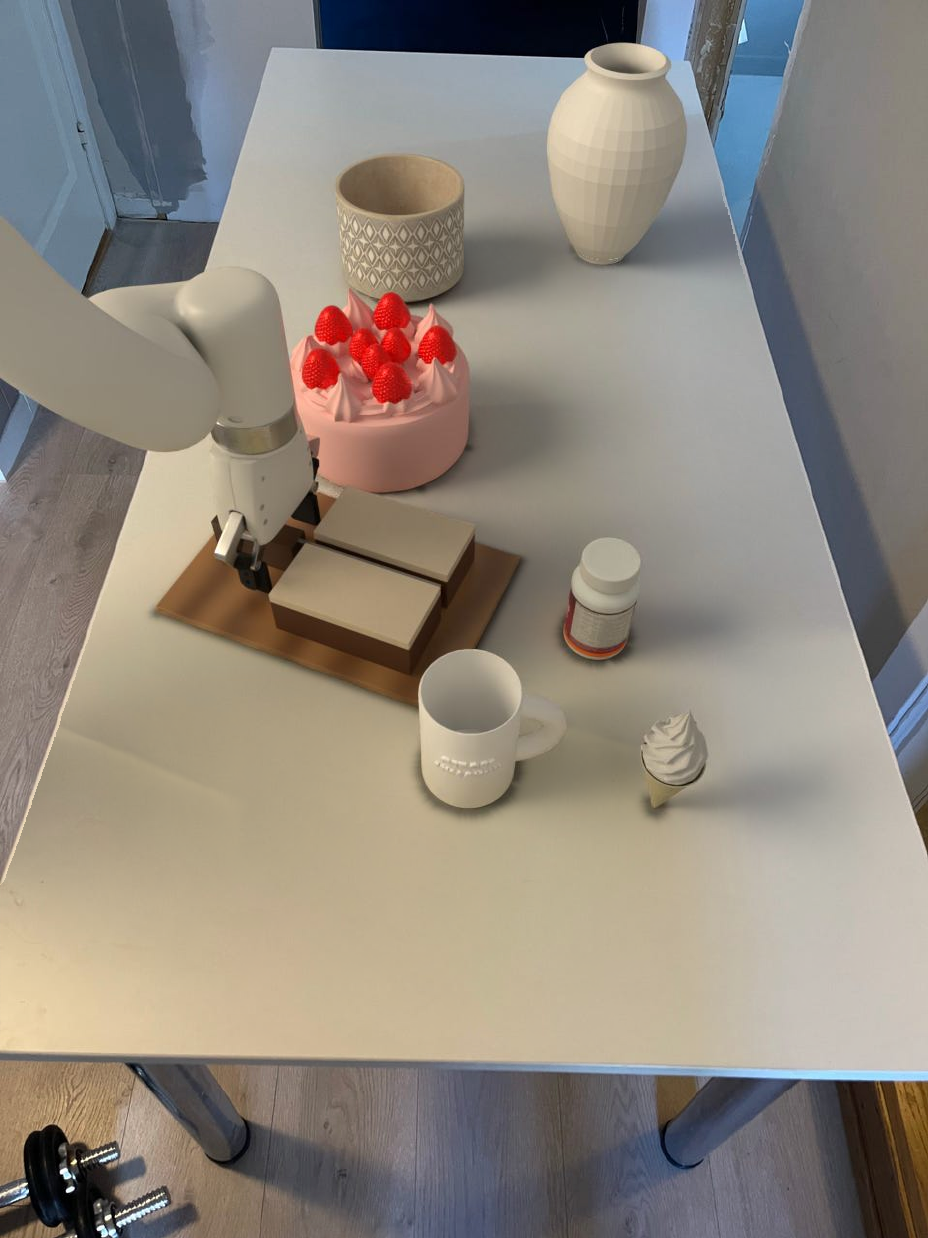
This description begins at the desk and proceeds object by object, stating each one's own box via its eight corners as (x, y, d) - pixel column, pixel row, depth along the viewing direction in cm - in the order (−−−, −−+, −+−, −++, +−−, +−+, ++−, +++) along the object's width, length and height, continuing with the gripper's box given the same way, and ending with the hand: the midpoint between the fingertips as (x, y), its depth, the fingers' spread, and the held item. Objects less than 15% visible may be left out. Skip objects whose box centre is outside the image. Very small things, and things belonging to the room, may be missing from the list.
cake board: (158, 612, 88) (155, 606, 87) (263, 481, 100) (261, 474, 99) (441, 716, 81) (440, 710, 81) (519, 562, 93) (519, 555, 92)
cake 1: (370, 361, 113) (361, 255, 102) (504, 424, 106) (510, 318, 95) (261, 447, 103) (238, 340, 92) (401, 523, 96) (394, 417, 85)
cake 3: (276, 628, 86) (267, 594, 82) (311, 576, 90) (305, 542, 86) (410, 676, 83) (408, 643, 79) (441, 620, 87) (440, 587, 83)
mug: (566, 805, 76) (583, 731, 67) (424, 815, 75) (421, 742, 66) (552, 721, 81) (566, 642, 72) (419, 730, 80) (415, 651, 71)
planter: (439, 320, 118) (438, 227, 108) (324, 295, 122) (313, 203, 112) (478, 255, 128) (481, 165, 118) (371, 234, 131) (364, 144, 121)
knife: (218, 549, 92) (210, 521, 89) (232, 531, 94) (224, 504, 90) (435, 622, 87) (434, 596, 83) (446, 603, 88) (446, 576, 85)
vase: (682, 277, 125) (726, 81, 106) (560, 293, 123) (582, 95, 103) (636, 212, 136) (668, 23, 116) (523, 226, 133) (536, 35, 113)
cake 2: (318, 566, 91) (313, 531, 87) (350, 519, 95) (346, 484, 91) (447, 609, 88) (447, 575, 84) (474, 559, 92) (475, 525, 88)
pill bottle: (577, 602, 90) (591, 523, 81) (635, 625, 88) (657, 546, 79) (552, 647, 86) (564, 569, 77) (613, 672, 85) (632, 595, 76)
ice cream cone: (621, 777, 78) (652, 679, 66) (681, 779, 78) (722, 681, 66) (626, 832, 75) (659, 739, 63) (688, 834, 75) (732, 741, 63)
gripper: (266, 349, 83) (292, 486, 96) (156, 469, 73) (202, 603, 86) (340, 369, 81) (355, 506, 94) (238, 495, 71) (271, 628, 84)
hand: (282, 552), depth 90 cm, fingers open, 9 cm apart
